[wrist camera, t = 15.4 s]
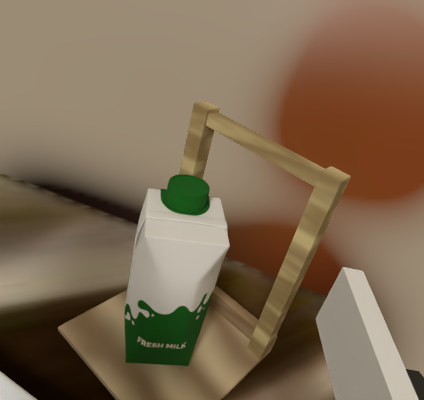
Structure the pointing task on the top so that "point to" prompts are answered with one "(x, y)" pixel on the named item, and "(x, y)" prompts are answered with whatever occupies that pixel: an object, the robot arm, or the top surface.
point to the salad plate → (12, 390)
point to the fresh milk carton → (173, 271)
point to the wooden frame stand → (220, 302)
